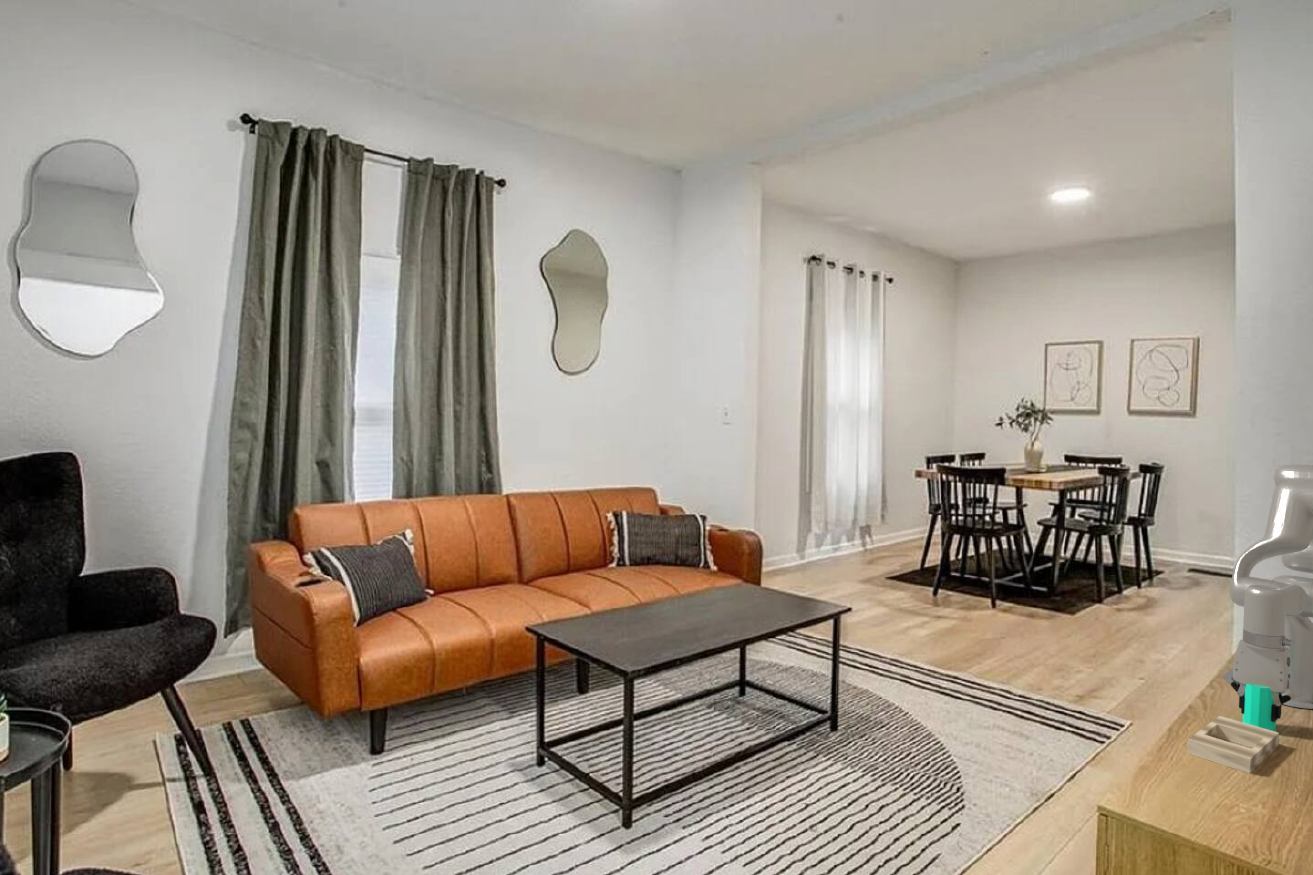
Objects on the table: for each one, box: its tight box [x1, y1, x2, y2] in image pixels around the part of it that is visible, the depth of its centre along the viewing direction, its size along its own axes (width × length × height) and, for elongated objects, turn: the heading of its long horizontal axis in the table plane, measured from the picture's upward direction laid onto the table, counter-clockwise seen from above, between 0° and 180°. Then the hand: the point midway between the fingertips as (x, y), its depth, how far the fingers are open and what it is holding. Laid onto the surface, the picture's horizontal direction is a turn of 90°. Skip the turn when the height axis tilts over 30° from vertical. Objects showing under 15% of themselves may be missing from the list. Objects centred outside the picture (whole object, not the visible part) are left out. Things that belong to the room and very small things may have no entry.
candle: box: [1242, 684, 1277, 732], centre depth 176 cm, size 6×6×12 cm
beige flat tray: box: [1186, 715, 1280, 774], centre depth 165 cm, size 20×11×3 cm, turn 127°
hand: (1259, 715), depth 176 cm, fingers closed on candle, 4 cm apart
